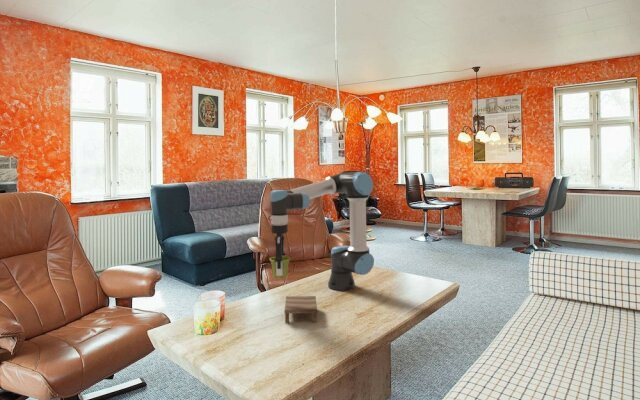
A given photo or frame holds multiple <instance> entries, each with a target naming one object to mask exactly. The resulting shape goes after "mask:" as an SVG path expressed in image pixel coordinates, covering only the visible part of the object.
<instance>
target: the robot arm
mask: <svg viewBox="0 0 640 400" xmlns="http://www.w3.org/2000/svg"><path fill="white" fill-rule="evenodd" d="M373 189H374V182H373V179H372V176H370V175H369V174H368V173H366V172H362V171H361V172H360V171H352V172H351V171H350V172H349V171H345V172H339V173H337V174H334V175H331V176H328V177H326V178H325V179H324V180H320V181H316V182H313V183H310V184H307V185H302V186H299V187H295V188H291V189H289V190H285V189H282V190H281V189H278V190H277V189H273V190H272V191H271V192H270V198H269V199H270V200H269V201H270V217H269V219H270V224H271V225H270V231H271V233H272V234H274V235H275V234H276V236H275V237H274V241H275V242H274V243H275V257H276V260H274V261H275V262H276V276H282V275H283V274H282V256H286V252H285V251H284V246H285V245H284V244H285V236H284V234H287V233H288V231H289V230H288V229H289V227H288V226H289V225H288V222H289V221H288V220H289V219H288V218H289V217H288V211H294V210H305V209H308V208H309V207H310V204H311V200H312V199H315V198H318V197H321V196H324V195H328V194H329V195H334V194H335V195H336V194H346V199H347V200H348V201H349V236H350V237H349V241H350V243H349V245H338V246H334V247H332V248H331V252H330V266H331V268H330V272H331V273H330V275H329V279H328V281H327V283H328V284H327V287H328V288H329V289H331V290H334V291H350V290H353V289H355V287H356V282H355V279H354V275H353V273H354V274H357V275H362V276H364V275H365V276H366V275H367V274H369V273H370V272H371V271H372V269H373V268H374V264H375V258H374V257H373V255H372V254H371V253H370V247H368V246H367V200H368V199H369V197H370V195H371V193H372V191H373Z"/></svg>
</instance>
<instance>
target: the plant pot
mask: <svg viewBox="0 0 640 400" xmlns="http://www.w3.org/2000/svg"><path fill="white" fill-rule="evenodd" d="M274 260H276V256H273V257H270V258H269V261H270V263H271V269H272V275H273V278H274V279H286V278H287V277H288V270H289V269H288V268H289V263H290V260H291V257H289V256H286V255H284V256H282V274H283V275H282V276H276V262H275V261H274Z"/></svg>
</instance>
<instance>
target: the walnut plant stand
mask: <svg viewBox="0 0 640 400" xmlns="http://www.w3.org/2000/svg"><path fill="white" fill-rule="evenodd" d="M284 304H285V305H284V315H285V316H284V321H285V322H284V323H285V324H289V323H290V314H309V313H310V314H312V323H317V321H318V320H317V318H318V317H317V313H318V306H317V297H316V295H302V296H301V295H296V296H295V295H294V296H292V295H290V296H289V295H287V296H285V303H284Z"/></svg>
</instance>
